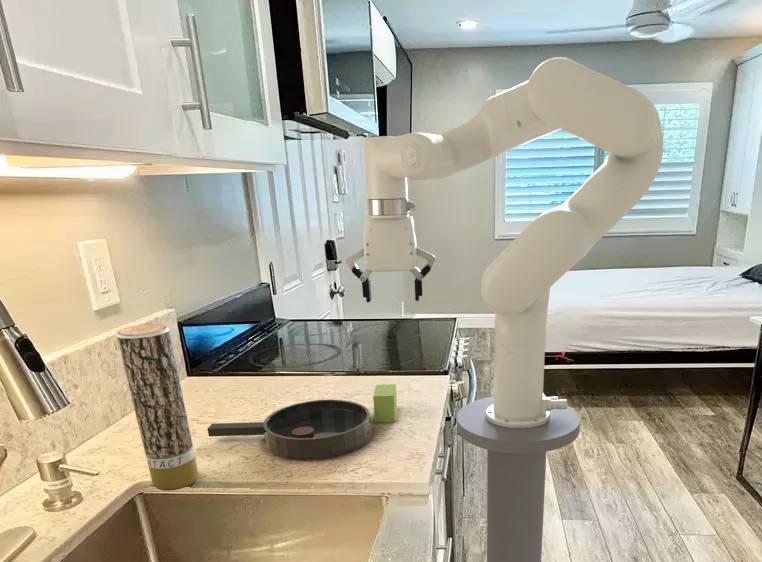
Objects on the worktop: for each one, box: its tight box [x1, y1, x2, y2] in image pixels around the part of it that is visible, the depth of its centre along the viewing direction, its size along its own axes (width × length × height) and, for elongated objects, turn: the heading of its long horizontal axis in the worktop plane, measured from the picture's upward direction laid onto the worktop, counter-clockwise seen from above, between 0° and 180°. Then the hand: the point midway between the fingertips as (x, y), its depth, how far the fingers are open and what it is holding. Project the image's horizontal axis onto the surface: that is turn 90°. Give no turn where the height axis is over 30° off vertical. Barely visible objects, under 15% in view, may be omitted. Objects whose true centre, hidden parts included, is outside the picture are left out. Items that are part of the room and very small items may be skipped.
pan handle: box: [207, 421, 265, 437], centre depth 106 cm, size 10×2×2 cm, turn 91°
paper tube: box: [116, 323, 199, 492], centre depth 87 cm, size 7×7×25 cm
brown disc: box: [292, 427, 314, 438], centre depth 106 cm, size 4×4×1 cm
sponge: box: [372, 383, 398, 423], centre depth 115 cm, size 4×7×6 cm, turn 2°
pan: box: [263, 399, 373, 461], centre depth 106 cm, size 19×19×4 cm
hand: (393, 300), depth 113 cm, fingers open, 9 cm apart
